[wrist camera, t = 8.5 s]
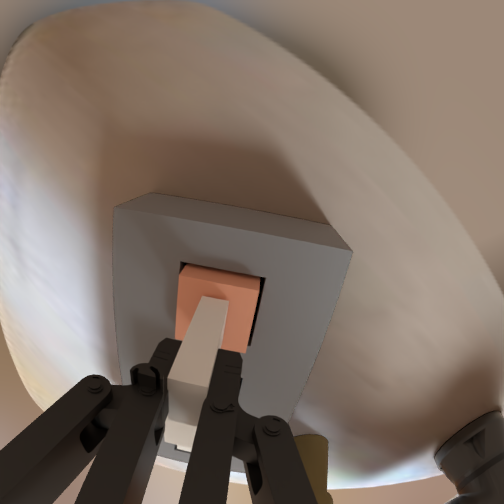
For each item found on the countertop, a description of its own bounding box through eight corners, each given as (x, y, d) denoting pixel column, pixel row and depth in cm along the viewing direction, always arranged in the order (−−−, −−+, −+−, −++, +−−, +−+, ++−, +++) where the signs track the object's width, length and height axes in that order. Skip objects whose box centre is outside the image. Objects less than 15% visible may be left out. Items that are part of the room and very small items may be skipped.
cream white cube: (238, 380, 19) (232, 422, 15) (230, 415, 21) (224, 454, 17) (177, 367, 19) (162, 407, 15) (176, 404, 21) (164, 441, 17)
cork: (314, 458, 32) (319, 523, 21) (274, 453, 31) (273, 522, 21) (337, 437, 30) (348, 508, 19) (294, 431, 29) (298, 508, 19)
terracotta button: (260, 263, 19) (259, 290, 15) (249, 319, 21) (245, 353, 17) (195, 251, 19) (179, 274, 15) (189, 307, 21) (174, 338, 17)
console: (331, 225, 21) (353, 251, 16) (263, 434, 30) (261, 474, 24) (151, 192, 21) (113, 207, 16) (150, 412, 30) (135, 448, 24)
